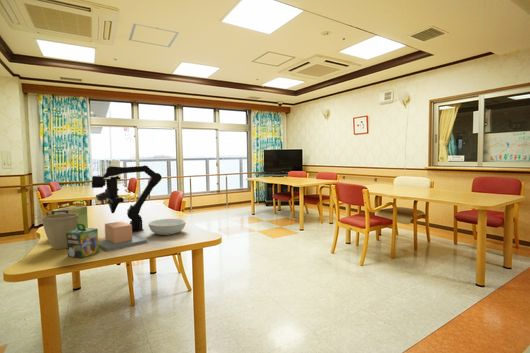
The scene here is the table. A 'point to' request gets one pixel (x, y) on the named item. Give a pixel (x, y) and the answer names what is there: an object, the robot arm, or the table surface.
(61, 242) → the plant pot
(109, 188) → the robot arm
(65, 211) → the protein box
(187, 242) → the table surface
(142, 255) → the table surface
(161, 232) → the serving bowl
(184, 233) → the table surface
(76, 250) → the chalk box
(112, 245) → the board
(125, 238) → the terracotta carton
